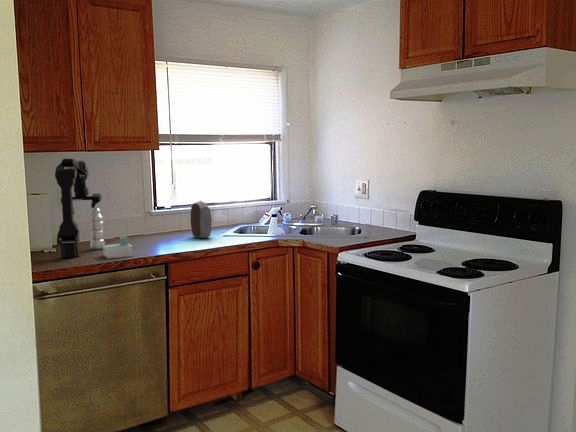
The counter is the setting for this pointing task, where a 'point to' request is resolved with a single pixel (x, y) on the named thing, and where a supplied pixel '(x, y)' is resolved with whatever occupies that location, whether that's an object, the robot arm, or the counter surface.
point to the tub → (118, 251)
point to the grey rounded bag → (200, 220)
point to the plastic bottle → (96, 229)
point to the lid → (122, 243)
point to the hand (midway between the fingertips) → (83, 214)
